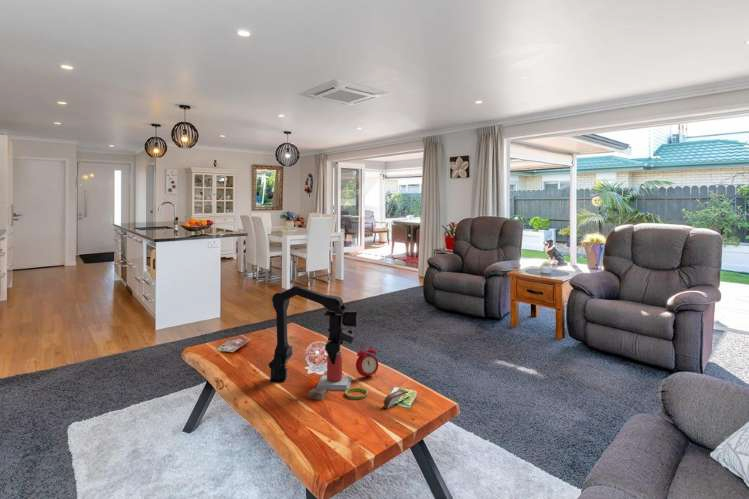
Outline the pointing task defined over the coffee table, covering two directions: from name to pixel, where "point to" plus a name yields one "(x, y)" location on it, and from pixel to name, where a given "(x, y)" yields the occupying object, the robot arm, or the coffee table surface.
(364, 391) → the olive green ring
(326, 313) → the robot arm
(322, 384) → the stand
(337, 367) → the beer can
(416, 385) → the coffee table surface
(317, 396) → the metal block
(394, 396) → the wallet with cash
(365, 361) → the alarm clock
